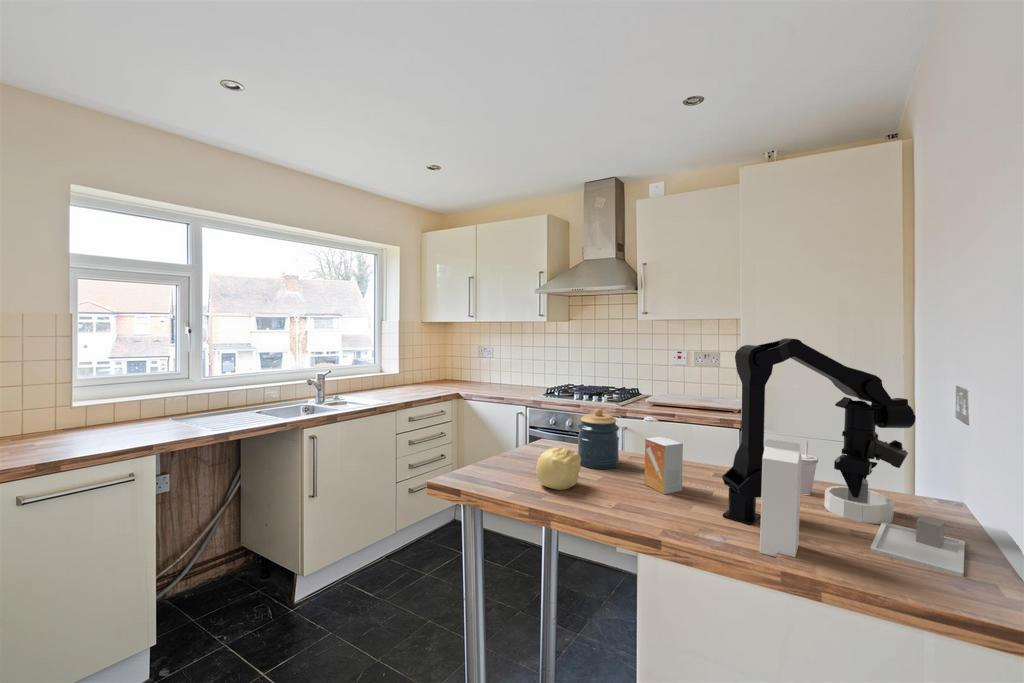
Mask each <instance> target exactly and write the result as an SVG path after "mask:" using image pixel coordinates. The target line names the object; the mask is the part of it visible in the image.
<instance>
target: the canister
mask: <svg viewBox="0 0 1024 683" xmlns="http://www.w3.org/2000/svg"><path fill="white" fill-rule="evenodd" d="M617 421H618V420H617V418H615V417H613V416H612V415H611V414H608V413H607V414H606V413H604V410H602V409H601V408H600V407H599V408H596V409H595V410H594V411H593V413H587V414H585V415H584V416H582V417H580V422H581V423H579V424H578V425H577V428H578V430H579V434H578V435H577V453H578V454H579V455H580V457H581V462H580V465H581V466H582V467H585V468H589V469H594V470H595V469H596V470H609V469H614V468H615V467H616V468H617V467H618V464H619V459H620V457H619V445H620V444H619V440H620V437H619V435H618V431H620V426H619V425H618V424H617Z"/></svg>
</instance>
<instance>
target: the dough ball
mask: <svg viewBox="0 0 1024 683" xmlns="http://www.w3.org/2000/svg"><path fill="white" fill-rule="evenodd" d="M536 462H537V463H536V465H535V466H536V467H535V469H536V470H535V472H536V478H537V479H538V481H539V483H540V484H541V485H542V486H544V487H547V488H549V489H552V490H558V491H565V490H568V489H570V488H571V487H574V486H575V485H576V483H578V480H579V477H580V476H579V474H580V471H581V466H582V465H580V462H581V457H580V455H579V454H578V452H576V451H575V450H573V449H569V448H567V447H564V446H562V445H560V446H559V447H552V448H549V449H547V450H544V452H542V453H541V455H540V456H539V457H538V459H537V461H536Z"/></svg>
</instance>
